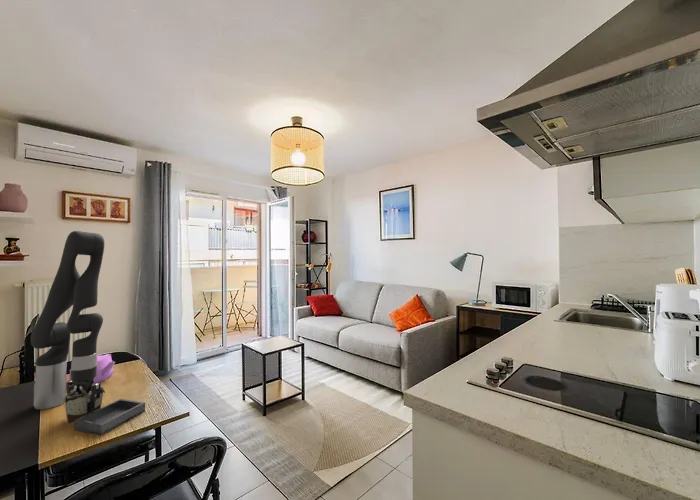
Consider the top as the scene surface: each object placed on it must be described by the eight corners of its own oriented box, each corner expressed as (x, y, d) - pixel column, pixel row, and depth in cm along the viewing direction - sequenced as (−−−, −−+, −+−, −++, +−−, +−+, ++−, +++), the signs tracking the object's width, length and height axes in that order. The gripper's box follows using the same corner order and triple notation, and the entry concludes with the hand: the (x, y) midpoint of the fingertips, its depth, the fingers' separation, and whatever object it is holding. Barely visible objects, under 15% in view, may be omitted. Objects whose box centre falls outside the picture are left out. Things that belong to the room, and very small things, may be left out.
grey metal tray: (74, 430, 109) (74, 420, 109) (120, 407, 126) (120, 398, 126) (101, 435, 106) (101, 425, 106) (145, 411, 123) (145, 402, 123)
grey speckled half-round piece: (100, 408, 125) (101, 383, 125) (104, 413, 121) (105, 387, 121) (59, 420, 115) (59, 393, 115) (61, 426, 111) (62, 398, 111)
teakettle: (111, 371, 164) (111, 347, 164) (115, 380, 152) (116, 355, 152) (67, 379, 152) (68, 354, 153) (68, 391, 140) (69, 363, 140)
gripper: (59, 367, 116) (57, 412, 116) (88, 371, 113) (87, 417, 112) (80, 361, 124) (79, 403, 123) (108, 364, 120) (107, 407, 120)
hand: (83, 409), depth 118 cm, fingers closed on grey speckled half-round piece, 7 cm apart
